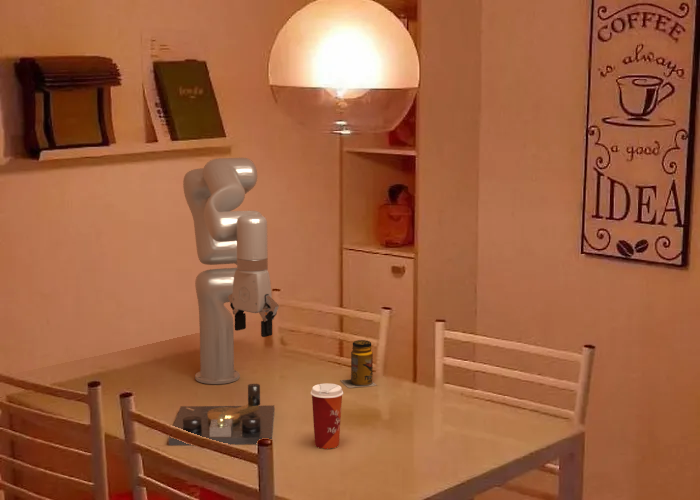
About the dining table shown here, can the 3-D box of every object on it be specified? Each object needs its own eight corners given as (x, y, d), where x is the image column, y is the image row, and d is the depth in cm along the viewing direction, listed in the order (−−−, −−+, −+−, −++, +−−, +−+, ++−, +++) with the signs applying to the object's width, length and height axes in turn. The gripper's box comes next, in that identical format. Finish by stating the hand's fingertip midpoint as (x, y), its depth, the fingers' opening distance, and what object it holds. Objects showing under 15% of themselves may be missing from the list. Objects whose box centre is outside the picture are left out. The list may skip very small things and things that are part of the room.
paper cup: (339, 451, 240) (339, 393, 238) (307, 449, 241) (306, 391, 239) (346, 440, 247) (346, 383, 245) (315, 438, 249) (314, 381, 247)
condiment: (377, 385, 291) (377, 344, 289) (348, 388, 288) (348, 346, 286) (368, 378, 298) (368, 337, 296) (340, 381, 295) (340, 340, 293)
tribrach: (180, 412, 267) (180, 391, 266) (274, 411, 268) (274, 390, 268) (168, 445, 244) (168, 422, 243) (271, 444, 245) (271, 421, 244)
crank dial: (222, 427, 250) (221, 401, 249) (200, 420, 256) (200, 394, 254) (269, 412, 262) (269, 387, 260) (248, 405, 267) (247, 381, 266)
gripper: (217, 263, 260) (219, 329, 263) (265, 271, 248) (266, 341, 251) (240, 259, 265) (241, 324, 268) (287, 267, 254) (288, 335, 257)
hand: (253, 332), depth 260 cm, fingers open, 9 cm apart
